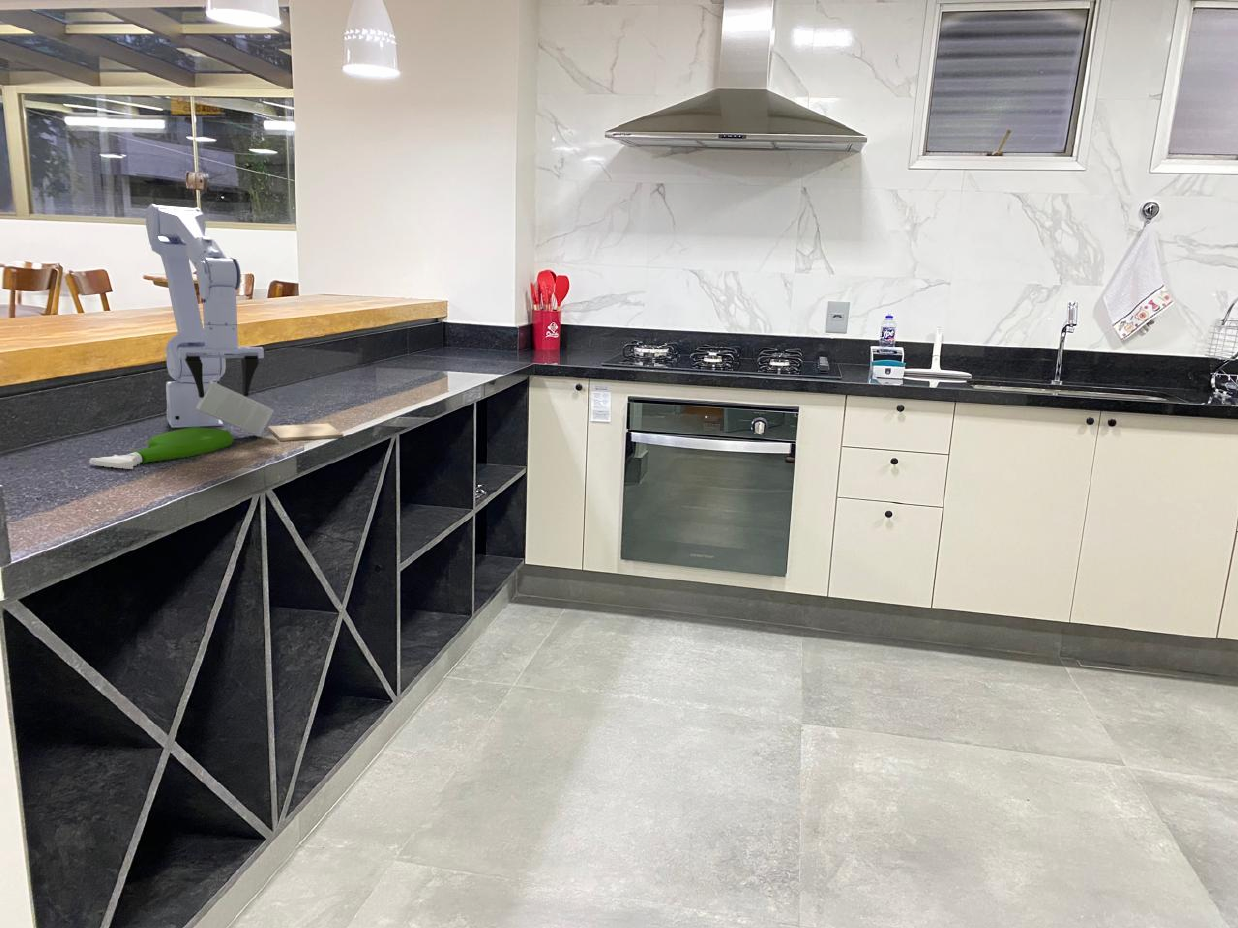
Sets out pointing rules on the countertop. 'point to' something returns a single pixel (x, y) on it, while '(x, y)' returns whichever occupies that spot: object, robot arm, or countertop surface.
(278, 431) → the cork mat
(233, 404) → the skincare box
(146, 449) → the spray bottle
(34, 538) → the countertop surface
